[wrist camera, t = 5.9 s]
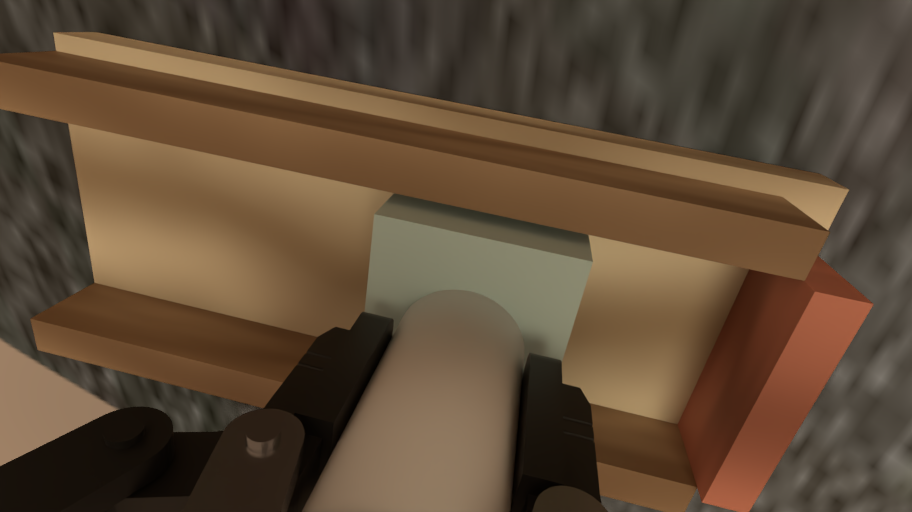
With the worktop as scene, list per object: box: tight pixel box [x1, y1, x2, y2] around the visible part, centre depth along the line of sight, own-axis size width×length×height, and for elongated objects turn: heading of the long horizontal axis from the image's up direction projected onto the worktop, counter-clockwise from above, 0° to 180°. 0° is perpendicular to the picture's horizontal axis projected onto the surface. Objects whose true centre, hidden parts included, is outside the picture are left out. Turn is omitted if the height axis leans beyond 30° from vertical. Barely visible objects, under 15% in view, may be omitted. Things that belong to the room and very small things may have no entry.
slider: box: [302, 193, 593, 512], centre depth 11 cm, size 6×5×9 cm
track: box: [0, 32, 873, 512], centre depth 15 cm, size 10×22×4 cm, turn 81°
